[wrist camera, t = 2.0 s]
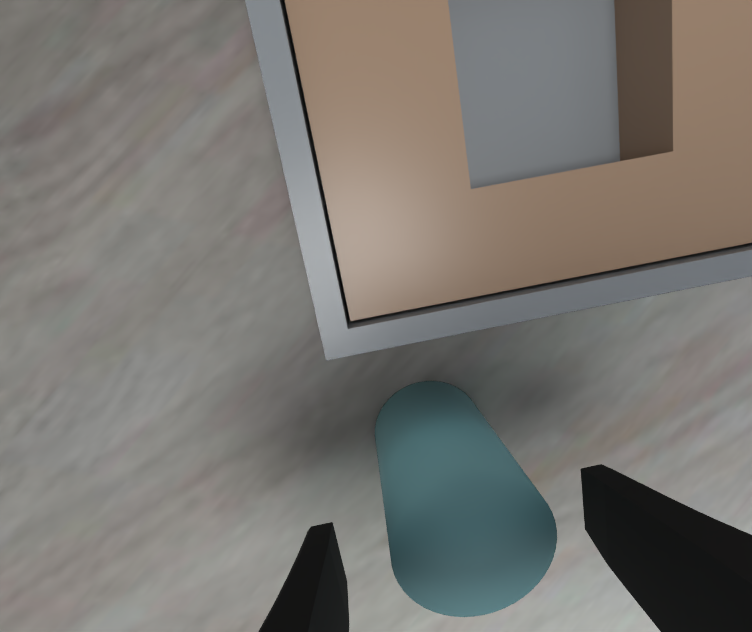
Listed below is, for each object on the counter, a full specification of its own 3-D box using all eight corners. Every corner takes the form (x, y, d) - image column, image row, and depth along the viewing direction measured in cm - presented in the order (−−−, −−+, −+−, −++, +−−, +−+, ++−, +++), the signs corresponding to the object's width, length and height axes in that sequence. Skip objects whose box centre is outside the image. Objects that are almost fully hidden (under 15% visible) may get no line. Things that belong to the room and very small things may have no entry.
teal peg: (473, 371, 15) (550, 456, 10) (485, 466, 16) (562, 597, 10) (365, 392, 15) (376, 493, 9) (385, 487, 16) (405, 632, 10)
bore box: (744, -197, 12) (904, -370, 8) (732, 251, 15) (845, 257, 12) (234, -115, 11) (185, -264, 8) (331, 330, 15) (326, 360, 11)
